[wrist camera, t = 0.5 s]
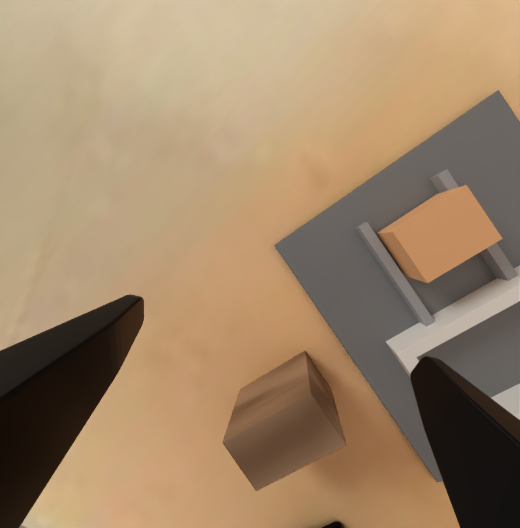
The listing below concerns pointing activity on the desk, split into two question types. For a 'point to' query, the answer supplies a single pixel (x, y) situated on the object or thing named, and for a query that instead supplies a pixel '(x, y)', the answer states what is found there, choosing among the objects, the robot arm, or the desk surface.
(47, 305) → the desk surface
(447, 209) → the block
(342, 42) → the desk surface
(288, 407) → the block
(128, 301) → the robot arm
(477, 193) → the grey base board
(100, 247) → the desk surface
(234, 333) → the desk surface
